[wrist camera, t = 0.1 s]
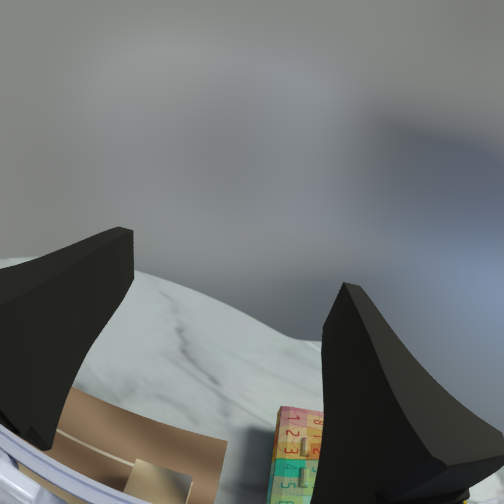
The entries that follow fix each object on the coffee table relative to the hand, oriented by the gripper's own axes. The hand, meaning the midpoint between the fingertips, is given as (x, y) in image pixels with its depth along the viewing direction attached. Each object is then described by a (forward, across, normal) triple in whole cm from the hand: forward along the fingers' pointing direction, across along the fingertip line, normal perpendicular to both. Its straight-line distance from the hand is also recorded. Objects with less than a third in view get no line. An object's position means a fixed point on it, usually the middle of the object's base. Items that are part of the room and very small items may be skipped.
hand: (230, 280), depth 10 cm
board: (-4, +10, +21) cm, 24 cm away
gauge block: (-5, +2, +20) cm, 20 cm away
